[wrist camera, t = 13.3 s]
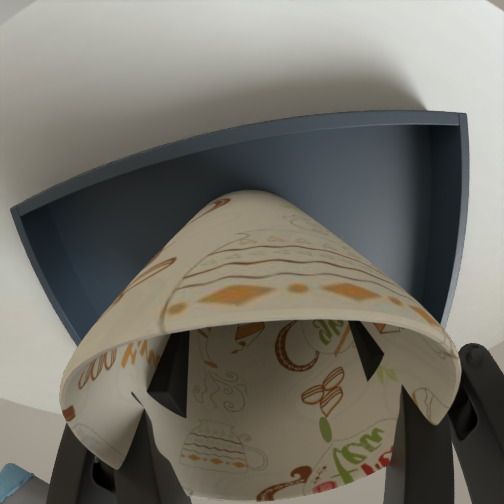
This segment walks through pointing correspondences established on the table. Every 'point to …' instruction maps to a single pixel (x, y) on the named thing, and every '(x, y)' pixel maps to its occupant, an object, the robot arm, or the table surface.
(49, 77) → the table surface
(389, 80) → the table surface
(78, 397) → the mug
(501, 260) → the table surface
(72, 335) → the tray
